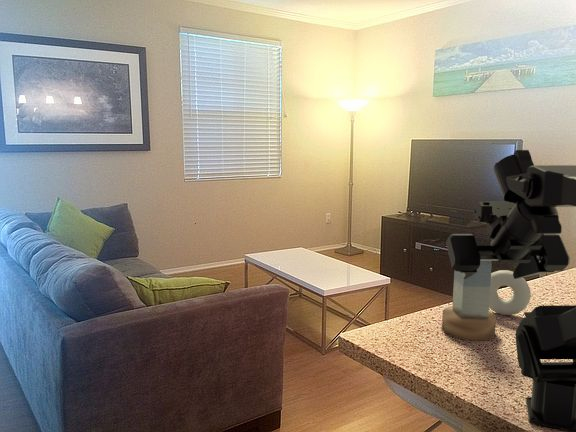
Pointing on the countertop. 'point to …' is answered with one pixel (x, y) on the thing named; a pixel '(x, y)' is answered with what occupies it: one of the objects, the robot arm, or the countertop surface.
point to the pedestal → (468, 326)
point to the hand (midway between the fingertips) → (489, 276)
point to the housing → (473, 293)
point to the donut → (519, 297)
